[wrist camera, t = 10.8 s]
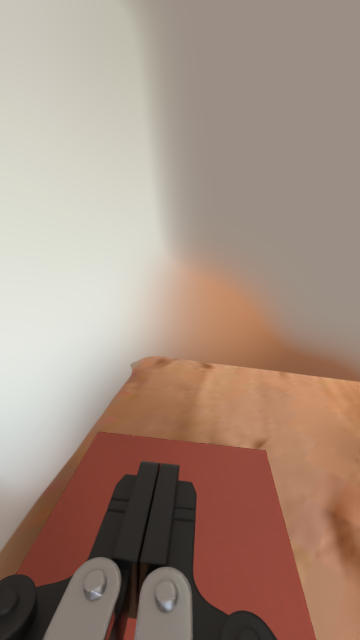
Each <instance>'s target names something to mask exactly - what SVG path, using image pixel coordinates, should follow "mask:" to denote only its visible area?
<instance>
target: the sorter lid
mask: <svg viewBox="0 0 360 640" xmlns="http://www.w3.org/2000/svg"><path fill="white" fill-rule="evenodd" d="M141 461H149V462H158V463H160V466H161V463H167V464H176V465H180V471H179V480H181V481H189V482H192V483H193V486H194V488H195V491H196V493H197V501H196V521H195V542H194V562H193V575H194V580H195V584H196V586H197V588H198V590H199V592H200V593H201V595H202V596H203V597H204V599H205V600H206V601H208V602H209V603H210V604H211V605H213V606H214V607H216V608H218V609H219V610H221V611H223V612H224V613H226V614H228V615H230V614H231V613H233V612H235V611H239V610H245V611H249V612H252V613H254V614H256V615H257V616H259V617H260V618H261V619H262V620H263V621H264V622H265V623H266V624H267V625H268V627H269V628H270V629H271V631H272V632H273V634H274V635H275V636H276V638H277V639H278V640H316V638H315V634H314V630H313V627H312V623H311V619H310V615H309V612H308V608H307V604H306V600H305V597H304V593H303V589H302V585H301V582H300V578H299V574H298V570H297V567H296V563H295V559H294V555H293V552H292V548H291V544H290V540H289V537H288V533H287V529H286V525H285V522H284V518H283V514H282V510H281V507H280V503H279V499H278V495H277V491H276V488H275V484H274V480H273V476H272V473H271V469H270V465H269V461H268V458H267V454H266V451H265V450H258V449H249V448H240V447H231V446H222V445H213V444H204V443H195V442H186V441H177V440H168V439H159V438H150V437H141V436H132V435H123V434H114V433H105V432H98V433H97V435H96V437H95V438H94V440H93V442H92V444H91V445H90V447H89V449H88V451H87V452H86V454H85V456H84V457H83V459H82V461H81V463H80V464H79V466H78V468H77V470H76V471H75V473H74V475H73V476H72V478H71V480H70V482H69V483H68V485H67V487H66V489H65V490H64V492H63V494H62V495H61V497H60V499H59V501H58V502H57V504H56V506H55V508H54V509H53V511H52V513H51V514H50V516H49V518H48V520H47V521H46V523H45V525H44V527H43V528H42V530H41V532H40V533H39V535H38V537H37V539H36V540H35V542H34V544H33V546H32V547H31V549H30V551H29V552H28V554H27V556H26V558H25V559H24V561H23V563H22V565H21V566H20V568H19V570H18V571H17V573H16V574H23V575H26V576H28V577H30V578H31V579H32V580H33V582H34V583H35V586H36V587H38V586H42V585H46V584H51V583H55V582H59V581H62V580H65V579H67V578H69V577H70V576H72V575H73V574H74V573H75V572H76V570H77V569H78V568H79V567H80V566H81V565H82V564H84V563H85V562H86V560H87V559H88V557H89V555H90V552H91V550H92V547H93V544H94V542H95V539H96V536H97V534H98V531H99V528H100V526H101V523H102V521H103V518H104V515H105V513H106V511H107V507H108V505H109V502H110V500H111V497H112V494H113V492H114V489H115V486H116V484H117V483H118V482H119V481H120V480H121V479H122V478H123V476H124V475H125V474H131V475H137V473H138V470H139V466H140V463H141ZM137 614H138V613H137ZM136 622H137V619H133V618H128V620H127V625H126V630H125V634H124V639H123V640H134V637H135V629H136Z"/></svg>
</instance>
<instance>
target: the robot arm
mask: <svg viewBox="0 0 360 640" xmlns="http://www.w3.org/2000/svg"><path fill="white" fill-rule="evenodd" d="M179 471H180V465H176V464H167V463H161V466H160V463H158V462H149V461H141V463H140V466H139V470H138V473H137V475H131V474H125V475H124V476H123V478H122V479H121V480H120V481H119V482H118V483H117V484H116V486H115V489H114V492H113V494H112V497H111V500H110V502H109V505H108V507H107V511H106V513H105V515H104V518H103V521H102V523H101V526H100V528H99V531H98V534H97V536H96V539H95V542H94V544H93V547H92V550H91V552H90V555H89V557H88V559H87V560H86V562H85V563H84V564H82V565H81V566H80V567H79V568H78V569H77V570H76V572H75V573H74V574H73V575H72V576H70V577H69V578H67V579H65V580H62V581H59V582H55V583H51V584H46V585H42V586H38V587H36V586H35V583H34V582H33V580H32V579H31V578H30V577H28V576H26V575H23V574H16V575H11V576H8V577H6V578H4V579H2V580H0V640H123V639H124V634H125V630H126V625H127V620H128V618H133V619H137V622H136V629H135V637H134V640H278V639H277V638H276V636H275V635H274V634H273V632H272V631H271V629H270V628H269V627H268V625H267V624H266V623H265V622H264V621H263V620H262V619H261V618H260V617H259V616H257V615H256V614H254V613H252V612H249V611H245V610H239V611H235V612H233V613H231V614H230V615H228V614H226V613H224V612H223V611H221V610H219V609H218V608H216V607H214V606H213V605H211V604H210V603H209V602H208V601H206V600H205V599H204V597H203V596H202V595H201V593H200V592H199V590H198V588H197V586H196V584H195V580H194V575H193V562H194V542H195V521H196V501H197V493H196V491H195V488H194V486H193V483H192V482H189V481H181V480H179ZM137 613H138V614H137Z"/></svg>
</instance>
